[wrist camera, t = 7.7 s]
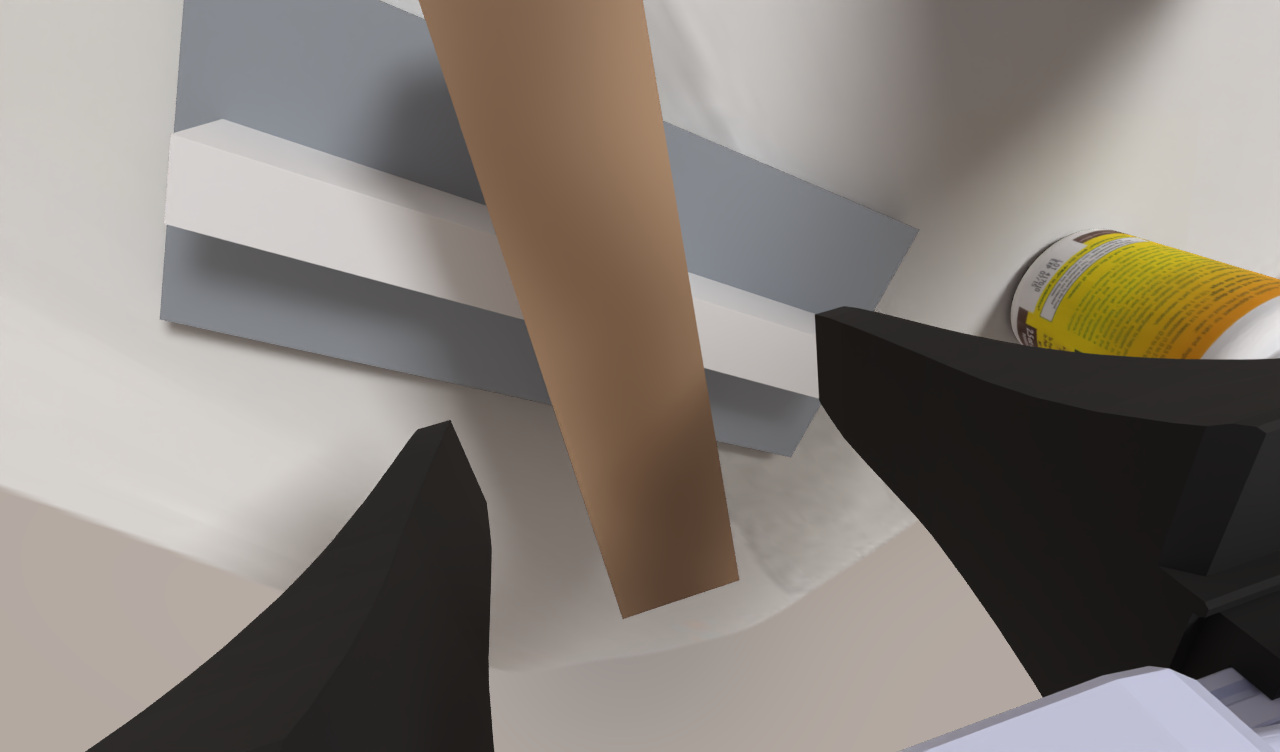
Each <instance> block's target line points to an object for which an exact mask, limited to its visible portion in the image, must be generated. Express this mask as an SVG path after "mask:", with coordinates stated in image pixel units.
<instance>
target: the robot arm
mask: <svg viewBox="0 0 1280 752" xmlns="http://www.w3.org/2000/svg"><path fill="white" fill-rule="evenodd" d="M815 330H816V350H817V370H818V389H819V401H820V403H821V404H822V406H823V408H824V409H825V411H826V412H827V414H828V415H829V417H830V418H831V420H832V421H833V423H834V424H835V426H836V427H837V429H838V430H839V431H840V433H841V434H842V436H843V437H844V438H845V440H846V441H847V442H848V443H849V444H850V445H851V446H852V448H853V449H854V450H855V451H856V452H857V453H858V454H859V455H860V456H861V457H862V459H863V460H864V461H865V462H866V463H867V464H868V465H869V466H870V467H871V468H872V470H873V471H874V472H875V473H876V474H877V475H878V476H879V477H880V478H881V479H882V480H883V481H884V482H885V484H886V485H887V486H888V487H889V488H890V489H891V490H892V491H893V492H894V493H895V494H896V495H897V496H898V498H899V499H900V500H901V501H902V502H903V503H904V504H905V505H906V506H907V507H908V508H909V509H910V511H911V512H912V513H913V514H914V515H915V516H916V517H917V518H918V519H919V521H920V522H921V523H922V524H923V525H924V526H925V528H926V529H927V530H928V531H929V532H930V534H931V535H932V536H933V537H934V539H935V540H936V541H937V543H938V544H939V545H940V547H941V548H942V549H943V551H944V552H945V553H946V555H947V556H948V558H949V559H950V560H951V561H952V563H953V564H954V566H955V567H956V568H957V570H958V571H959V572H960V574H961V575H962V576H963V578H964V579H965V581H966V582H967V584H968V585H969V586H970V588H971V589H972V591H973V592H974V594H975V595H976V596H977V598H978V599H979V601H980V602H981V604H982V605H983V606H984V608H985V609H986V611H987V612H988V614H989V615H990V617H991V618H992V619H993V621H994V622H995V624H996V625H997V627H998V628H999V630H1000V631H1001V633H1002V634H1003V636H1004V638H1005V639H1006V641H1007V642H1008V644H1009V645H1010V646H1011V648H1012V650H1013V651H1014V653H1015V654H1016V656H1017V657H1018V659H1019V660H1020V662H1021V663H1022V665H1023V666H1024V668H1025V670H1026V671H1027V673H1028V674H1029V676H1030V677H1031V679H1032V680H1033V682H1034V683H1035V685H1036V687H1037V689H1038V690H1039V692H1040V693H1041V695H1042V697H1043V698H1041V699H1038V700H1036V701H1033V702H1030V703H1027V704H1025V705H1022V706H1020V707H1016V708H1014V709H1011V710H1009V711H1006V712H1003V713H1000V714H998V715H995V716H992V717H990V718H987V719H984V720H982V721H979V722H976V723H973V724H971V725H968V726H965V727H963V728H960V729H957V730H955V731H952V732H949V733H946V734H944V735H941V736H938V737H936V738H933V739H930V740H927V741H925V742H922V743H920V744H917V745H914V746H911V747H909V748H906V749H903V750H901V751H898V752H1280V358H1275V359H1169V358H1144V357H1130V356H1115V355H1100V354H1090V353H1080V352H1070V351H1063V350H1055V349H1048V348H1040V347H1033V346H1026V345H1020V344H1014V343H1008V342H1003V341H998V340H993V339H988V338H983V337H978V336H973V335H968V334H964V333H959V332H955V331H950V330H946V329H942V328H938V327H934V326H930V325H926V324H922V323H918V322H914V321H910V320H906V319H902V318H898V317H894V316H890V315H886V314H882V313H878V312H874V311H869V310H865V309H860V308H854V307H847V306H842V307H839V308H835V309H832V310H828V311H825V312H821V313H818V314H815ZM491 554H492V548H491V538H490V528H489V519H488V511H487V503H486V500H485V498H484V496H483V493H482V491H481V489H480V486H479V484H478V482H477V480H476V477H475V475H474V473H473V471H472V468H471V466H470V464H469V461H468V459H467V457H466V455H465V452H464V450H463V448H462V446H461V443H460V441H459V439H458V436H457V434H456V432H455V430H454V427H453V425H452V423H451V421H450V420H449V421H445V422H442V423H438V424H435V425H432V426H428V427H425V428H421V429H418V430H417V431H416V432H415V433H414V434H413V436H412V437H411V438H410V440H409V441H408V442H407V444H406V445H405V446H404V448H403V449H402V451H401V452H400V453H399V455H398V456H397V458H396V459H395V460H394V462H393V463H392V465H391V466H390V467H389V469H388V470H387V472H386V473H385V474H384V476H383V477H382V478H381V480H380V481H379V482H378V484H377V485H376V486H375V488H374V489H373V491H372V492H371V493H370V495H369V496H368V497H367V499H366V500H365V501H364V503H363V504H362V505H361V506H360V507H359V509H358V510H357V511H356V512H355V514H354V515H353V516H352V517H351V519H350V520H349V521H348V522H347V523H346V525H345V526H344V527H343V528H342V530H341V531H340V532H339V533H338V535H337V536H336V537H335V538H334V539H333V541H332V542H331V543H330V544H329V545H328V546H327V548H326V549H325V550H324V551H323V552H322V553H321V554H320V555H319V557H318V558H317V559H316V560H315V561H314V562H313V563H312V564H311V565H310V566H309V567H308V568H307V569H306V570H305V571H304V572H303V574H302V575H301V576H300V577H299V578H298V579H297V580H296V581H295V582H294V583H293V584H292V585H291V586H290V587H289V588H288V589H287V590H286V591H285V592H284V593H283V594H282V595H281V596H280V597H279V598H278V599H277V600H276V601H275V602H273V603H272V604H271V605H270V606H269V607H268V608H267V609H266V610H265V611H264V612H262V613H261V614H260V615H259V616H258V617H257V618H256V619H255V620H253V621H252V622H251V623H250V624H249V625H248V626H247V627H246V628H245V629H243V630H242V631H241V632H240V633H239V634H238V635H237V636H236V637H235V638H234V639H232V640H231V641H230V642H229V643H228V644H227V645H226V646H225V647H223V648H222V649H221V650H220V651H219V652H217V653H216V654H215V655H214V656H213V657H211V658H210V659H209V660H208V661H206V662H205V663H204V664H203V665H201V666H200V667H199V668H198V669H197V670H196V671H194V672H193V673H192V674H191V675H189V676H188V677H187V678H185V679H184V680H183V681H181V682H180V683H179V684H178V685H176V686H175V687H174V688H172V689H171V690H170V691H169V692H167V693H166V694H165V695H163V696H162V697H161V698H160V699H158V700H157V701H156V702H154V703H153V704H152V705H150V706H149V707H148V708H146V709H145V710H144V711H142V712H141V713H139V714H138V715H137V716H135V717H134V718H133V719H131V720H130V721H129V722H127V723H126V724H124V725H123V726H122V727H120V728H119V729H117V730H116V731H114V732H113V733H111V734H110V735H109V736H107V737H106V738H104V739H103V740H101V741H100V742H99V743H97V744H96V745H94V746H93V747H91V748H90V749H88V750H87V751H86V752H494V745H493V733H492V719H491V707H490V693H489V663H488V656H489V625H490V594H491Z"/></svg>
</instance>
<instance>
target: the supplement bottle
mask: <svg viewBox="0 0 1280 752" xmlns="http://www.w3.org/2000/svg"><path fill="white" fill-rule="evenodd" d="M1011 325H1012V329H1013V332H1014V334H1015V336H1016V338H1017V340H1018V341H1019V342H1020V343H1021V344H1022V345H1026V346H1033V347H1040V348H1048V349H1055V350H1063V351H1070V352H1080V353H1090V354H1100V355H1115V356H1130V357H1144V358H1169V359H1275V358H1280V279H1276V278H1273V277H1269V276H1266V275H1262V274H1259V273H1256V272H1252V271H1249V270H1245V269H1242V268H1239V267H1235V266H1232V265H1229V264H1225V263H1222V262H1219V261H1215V260H1212V259H1209V258H1206V257H1202V256H1199V255H1196V254H1192V253H1189V252H1186V251H1182V250H1179V249H1175V248H1172V247H1168V246H1165V245H1162V244H1158V243H1155V242H1152V241H1148V240H1145V239H1141V238H1138V237H1135V236H1131V235H1128V234H1124V233H1121V232H1117V231H1113V230H1109V229H1089V230H1084V231H1080V232H1077V233H1074V234H1071V235H1069V236H1067V237H1065V238H1063V239H1061V240H1059V241H1058V242H1056V243H1055V244H1053V245H1052V246H1051V247H1049V248H1048V249H1047V250H1046V251H1045V252H1043V253H1042V254H1041V255H1040V256H1039V257H1038V258H1037V259H1036V260H1035V261H1034V263H1033V264H1032V265H1031V266H1030V267H1029V269H1028V270H1027V272H1026V273H1025V275H1024V276H1023V278H1022V279H1021V281H1020V283H1019V285H1018V288H1017V290H1016V292H1015V295H1014V298H1013V301H1012V307H1011Z"/></svg>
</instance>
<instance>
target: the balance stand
mask: <svg viewBox="0 0 1280 752" xmlns="http://www.w3.org/2000/svg"><path fill="white" fill-rule="evenodd" d="M663 125H664V131H665V137H666V143H667V149H668V155H669V161H670V167H671V173H672V179H673V185H674V191H675V197H676V203H677V209H678V215H679V221H680V227H681V233H682V239H683V245H684V251H685V257H686V263H687V269H688V275H689V281H690V287H691V293H692V299H693V305H694V311H695V317H696V323H697V329H698V335H699V341H700V347H701V353H702V359H703V365H704V371H705V377H706V383H707V389H708V395H709V401H710V407H711V413H712V419H713V425H714V431H715V437H716V441H719V442H723V443H728V444H733V445H737V446H742V447H746V448H751V449H755V450H760V451H765V452H769V453H774V454H778V455H783V456H787V457H791V456H792V454H793V452H794V451H795V449H796V447H797V445H798V444H799V442H800V440H801V438H802V437H803V435H804V433H805V431H806V429H807V428H808V426H809V424H810V422H811V421H812V419H813V417H814V415H815V414H816V412H817V410H818V408H819V407H820V405H821V403H820V401H819V389H818V370H817V350H816V330H815V314H818V313H821V312H825V311H828V310H832V309H835V308H839V307H842V306H847V307H854V308H860V309H865V310H869V311H874V309H875V308H876V306H877V304H878V302H879V301H880V299H881V297H882V295H883V294H884V292H885V290H886V288H887V286H888V285H889V283H890V281H891V279H892V278H893V276H894V274H895V272H896V271H897V269H898V267H899V265H900V263H901V262H902V260H903V258H904V256H905V255H906V253H907V251H908V249H909V248H910V246H911V244H912V242H913V241H914V239H915V237H916V235H917V233H918V232H919V229H916V228H914V227H912V226H909V225H907V224H905V223H902V222H900V221H898V220H895V219H893V218H891V217H888V216H886V215H883V214H881V213H879V212H876V211H874V210H872V209H869V208H867V207H865V206H862V205H860V204H858V203H855V202H853V201H851V200H848V199H846V198H843V197H841V196H839V195H836V194H834V193H832V192H829V191H827V190H825V189H822V188H820V187H818V186H815V185H813V184H811V183H808V182H806V181H803V180H801V179H799V178H796V177H794V176H792V175H789V174H787V173H785V172H782V171H780V170H778V169H775V168H773V167H770V166H768V165H766V164H763V163H761V162H759V161H756V160H754V159H752V158H749V157H747V156H745V155H742V154H740V153H738V152H735V151H733V150H730V149H728V148H726V147H723V146H721V145H719V144H716V143H714V142H712V141H709V140H707V139H705V138H702V137H700V136H698V135H695V134H693V133H690V132H688V131H686V130H683V129H681V128H679V127H676V126H674V125H672V124H669V123H667V122H665V121H663ZM164 224H167V230H166V244H165V257H164V270H163V283H162V297H161V310H160V319H161V320H165V321H170V322H174V323H179V324H183V325H188V326H193V327H197V328H202V329H206V330H211V331H215V332H220V333H225V334H229V335H234V336H238V337H243V338H248V339H252V340H257V341H261V342H266V343H270V344H275V345H280V346H284V347H289V348H293V349H298V350H302V351H307V352H312V353H316V354H321V355H325V356H330V357H334V358H339V359H344V360H348V361H353V362H357V363H362V364H366V365H371V366H376V367H380V368H385V369H389V370H394V371H399V372H403V373H408V374H412V375H417V376H421V377H426V378H431V379H435V380H440V381H444V382H449V383H453V384H458V385H463V386H467V387H472V388H476V389H481V390H485V391H490V392H495V393H499V394H504V395H508V396H513V397H517V398H522V399H527V400H531V401H536V402H540V403H545V404H550V405H552V402H551V399H550V396H549V393H548V390H547V387H546V384H545V381H544V378H543V375H542V372H541V369H540V366H539V363H538V360H537V357H536V354H535V351H534V348H533V345H532V342H531V339H530V336H529V333H528V330H527V327H526V324H525V321H524V318H523V315H522V312H521V309H520V306H519V302H518V299H517V296H516V293H515V290H514V287H513V284H512V281H511V278H510V275H509V272H508V269H507V266H506V263H505V260H504V257H503V254H502V251H501V248H500V245H499V242H498V239H497V236H496V233H495V230H494V227H493V224H492V221H491V218H490V215H489V212H488V209H487V205H486V202H485V199H484V196H483V193H482V190H481V187H480V184H479V181H478V178H477V175H476V172H475V169H474V166H473V163H472V160H471V157H470V154H469V151H468V148H467V145H466V142H465V139H464V136H463V133H462V130H461V127H460V124H459V121H458V118H457V115H456V112H455V109H454V105H453V102H452V99H451V96H450V93H449V90H448V87H447V84H446V81H445V78H444V75H443V72H442V69H441V66H440V63H439V60H438V57H437V54H436V51H435V48H434V45H433V42H432V39H431V36H430V33H429V30H428V27H427V24H426V21H425V19H422V18H420V17H418V16H415V15H413V14H410V13H408V12H406V11H403V10H401V9H399V8H396V7H394V6H392V5H389V4H387V3H385V2H382V1H380V0H184V5H183V18H182V32H181V45H180V58H179V71H178V85H177V98H176V111H175V124H174V133H172V134H171V138H170V152H169V165H168V179H167V192H166V206H165V220H164Z"/></svg>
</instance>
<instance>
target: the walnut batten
mask: <svg viewBox="0 0 1280 752" xmlns="http://www.w3.org/2000/svg"><path fill="white" fill-rule="evenodd" d="M419 2H420V5H421V9H422V12H423V15H424V18H425V21H426V24H427V27H428V30H429V33H430V36H431V39H432V42H433V45H434V48H435V51H436V54H437V57H438V60H439V63H440V66H441V69H442V72H443V75H444V78H445V81H446V84H447V87H448V90H449V93H450V96H451V99H452V102H453V105H454V109H455V112H456V115H457V118H458V121H459V124H460V127H461V130H462V133H463V136H464V139H465V142H466V145H467V148H468V151H469V154H470V157H471V160H472V163H473V166H474V169H475V172H476V175H477V178H478V181H479V184H480V187H481V190H482V193H483V196H484V199H485V202H486V205H487V209H488V212H489V215H490V218H491V221H492V224H493V227H494V230H495V233H496V236H497V239H498V242H499V245H500V248H501V251H502V254H503V257H504V260H505V263H506V266H507V269H508V272H509V275H510V278H511V281H512V284H513V287H514V290H515V293H516V296H517V299H518V302H519V306H520V309H521V312H522V315H523V318H524V321H525V324H526V327H527V330H528V333H529V336H530V339H531V342H532V345H533V348H534V351H535V354H536V357H537V360H538V363H539V366H540V369H541V372H542V375H543V378H544V381H545V384H546V387H547V390H548V393H549V396H550V399H551V402H552V406H553V409H554V412H555V415H556V418H557V421H558V424H559V427H560V430H561V433H562V436H563V439H564V442H565V445H566V448H567V451H568V454H569V457H570V460H571V463H572V466H573V469H574V472H575V475H576V478H577V481H578V484H579V487H580V490H581V493H582V496H583V499H584V502H585V506H586V509H587V512H588V515H589V518H590V521H591V524H592V527H593V530H594V533H595V536H596V539H597V542H598V545H599V548H600V551H601V554H602V557H603V560H604V563H605V566H606V569H607V572H608V575H609V578H610V581H611V584H612V587H613V590H614V593H615V596H616V599H617V602H618V606H619V609H620V612H621V615H622V618H623V619H624V618H627V617H630V616H633V615H636V614H639V613H642V612H645V611H648V610H651V609H654V608H657V607H660V606H663V605H666V604H669V603H672V602H675V601H678V600H681V599H684V598H687V597H690V596H693V595H696V594H699V593H702V592H705V591H708V590H711V589H714V588H717V587H720V586H723V585H726V584H729V583H732V582H735V581H738V580H739V575H738V569H737V563H736V557H735V551H734V545H733V539H732V533H731V527H730V521H729V515H728V509H727V503H726V497H725V491H724V485H723V479H722V473H721V467H720V461H719V455H718V449H717V443H716V437H715V431H714V425H713V419H712V413H711V407H710V401H709V395H708V389H707V383H706V377H705V371H704V365H703V359H702V353H701V347H700V341H699V335H698V329H697V323H696V317H695V311H694V305H693V299H692V293H691V287H690V281H689V275H688V269H687V263H686V257H685V251H684V245H683V239H682V233H681V227H680V221H679V215H678V209H677V203H676V197H675V191H674V185H673V179H672V173H671V167H670V161H669V155H668V149H667V143H666V137H665V131H664V125H663V119H662V113H661V107H660V101H659V95H658V89H657V83H656V77H655V71H654V65H653V59H652V53H651V47H650V41H649V35H648V29H647V23H646V17H645V11H644V5H643V0H419Z"/></svg>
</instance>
